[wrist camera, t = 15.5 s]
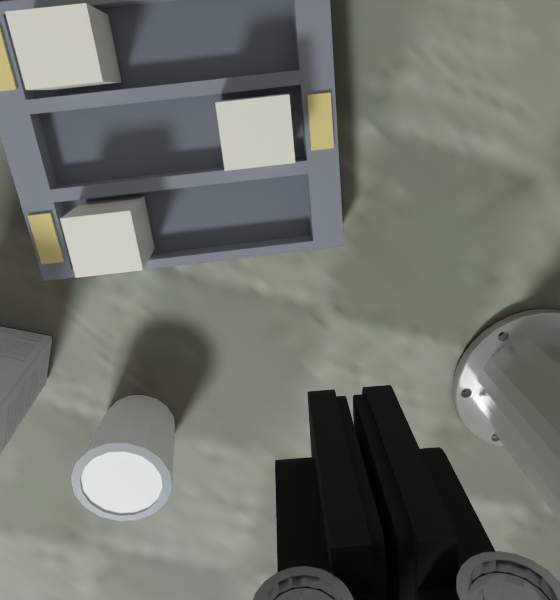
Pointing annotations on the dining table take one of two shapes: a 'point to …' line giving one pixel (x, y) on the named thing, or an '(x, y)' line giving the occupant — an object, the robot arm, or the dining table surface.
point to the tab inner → (108, 236)
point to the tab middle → (255, 131)
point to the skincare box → (20, 376)
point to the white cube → (64, 47)
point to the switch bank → (181, 130)
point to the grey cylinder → (128, 460)
